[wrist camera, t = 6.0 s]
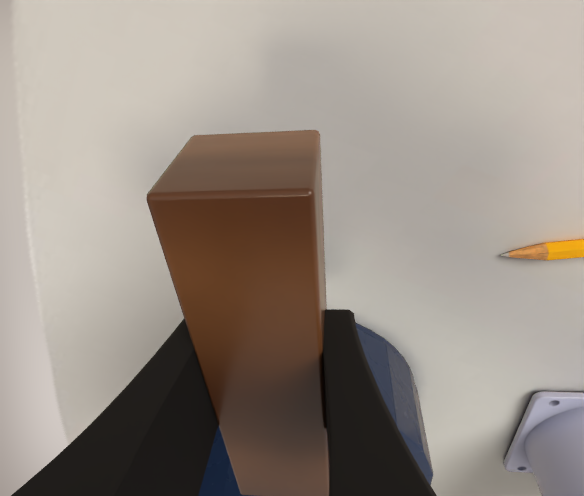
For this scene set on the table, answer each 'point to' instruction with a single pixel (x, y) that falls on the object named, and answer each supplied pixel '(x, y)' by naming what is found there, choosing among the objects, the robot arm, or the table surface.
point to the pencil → (550, 250)
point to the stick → (254, 297)
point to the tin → (395, 391)
